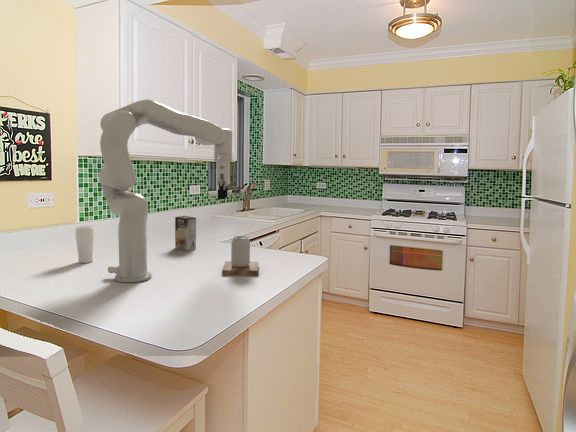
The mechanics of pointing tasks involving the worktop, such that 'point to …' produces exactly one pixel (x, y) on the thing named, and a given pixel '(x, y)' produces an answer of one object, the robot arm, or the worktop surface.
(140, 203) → the robot arm
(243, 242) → the can
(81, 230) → the drinking glass
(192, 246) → the coffee box
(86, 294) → the worktop surface
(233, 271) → the walnut board
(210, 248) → the worktop surface
